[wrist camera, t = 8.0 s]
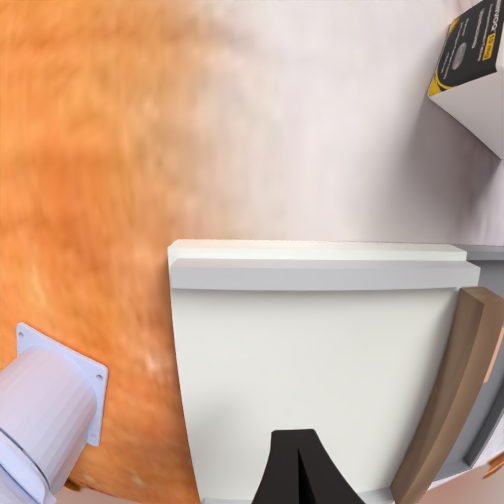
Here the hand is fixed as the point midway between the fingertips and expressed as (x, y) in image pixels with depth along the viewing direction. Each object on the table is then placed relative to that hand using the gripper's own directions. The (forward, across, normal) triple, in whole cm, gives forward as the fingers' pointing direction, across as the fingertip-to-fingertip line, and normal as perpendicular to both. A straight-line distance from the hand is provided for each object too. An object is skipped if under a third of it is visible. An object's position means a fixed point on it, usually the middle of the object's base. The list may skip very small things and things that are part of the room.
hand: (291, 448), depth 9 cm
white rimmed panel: (+9, -2, +6) cm, 11 cm away
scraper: (+7, -11, +6) cm, 15 cm away
